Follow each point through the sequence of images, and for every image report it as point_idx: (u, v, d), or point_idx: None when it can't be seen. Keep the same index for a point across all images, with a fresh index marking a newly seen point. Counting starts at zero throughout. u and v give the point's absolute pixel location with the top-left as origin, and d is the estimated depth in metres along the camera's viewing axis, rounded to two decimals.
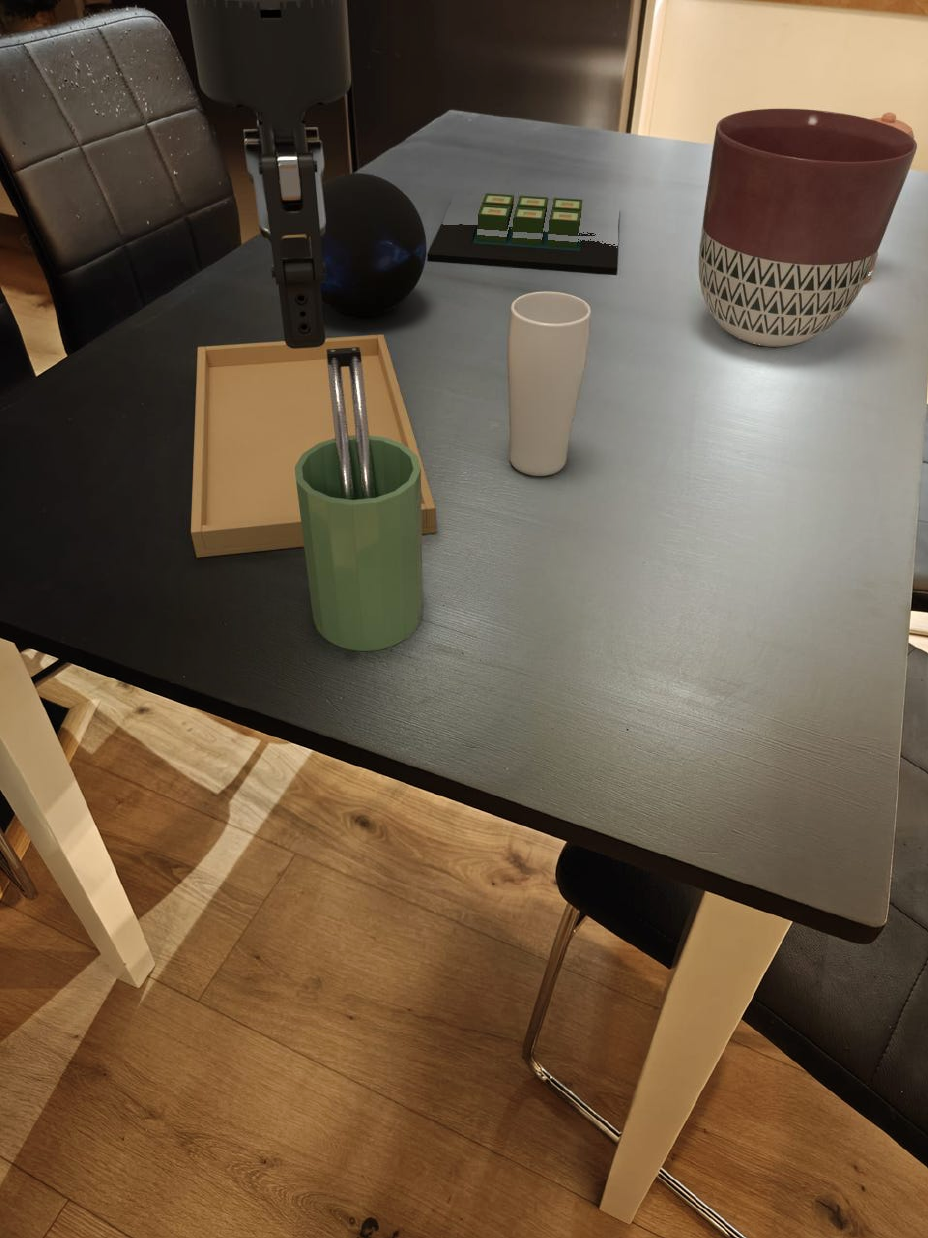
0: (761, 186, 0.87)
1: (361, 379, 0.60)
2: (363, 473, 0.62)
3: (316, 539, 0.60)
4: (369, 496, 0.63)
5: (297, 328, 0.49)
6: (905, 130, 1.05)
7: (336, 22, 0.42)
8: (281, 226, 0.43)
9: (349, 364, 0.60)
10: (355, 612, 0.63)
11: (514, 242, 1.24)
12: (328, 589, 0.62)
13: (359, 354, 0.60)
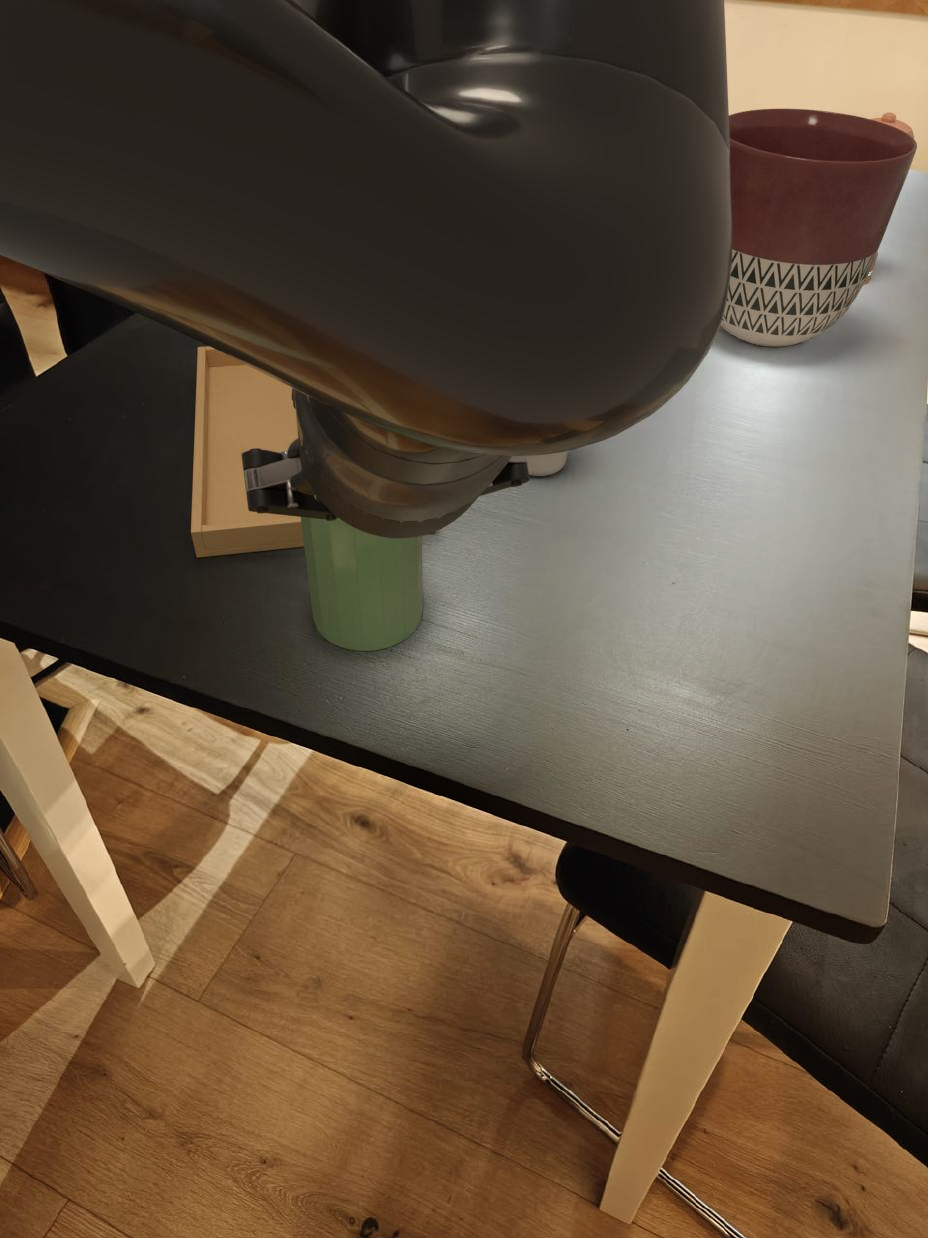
0: (761, 186, 0.87)
1: None
2: None
3: (316, 539, 0.60)
4: None
5: None
6: (905, 130, 1.05)
7: None
8: None
9: None
10: (355, 612, 0.63)
11: None
12: (328, 589, 0.62)
13: None
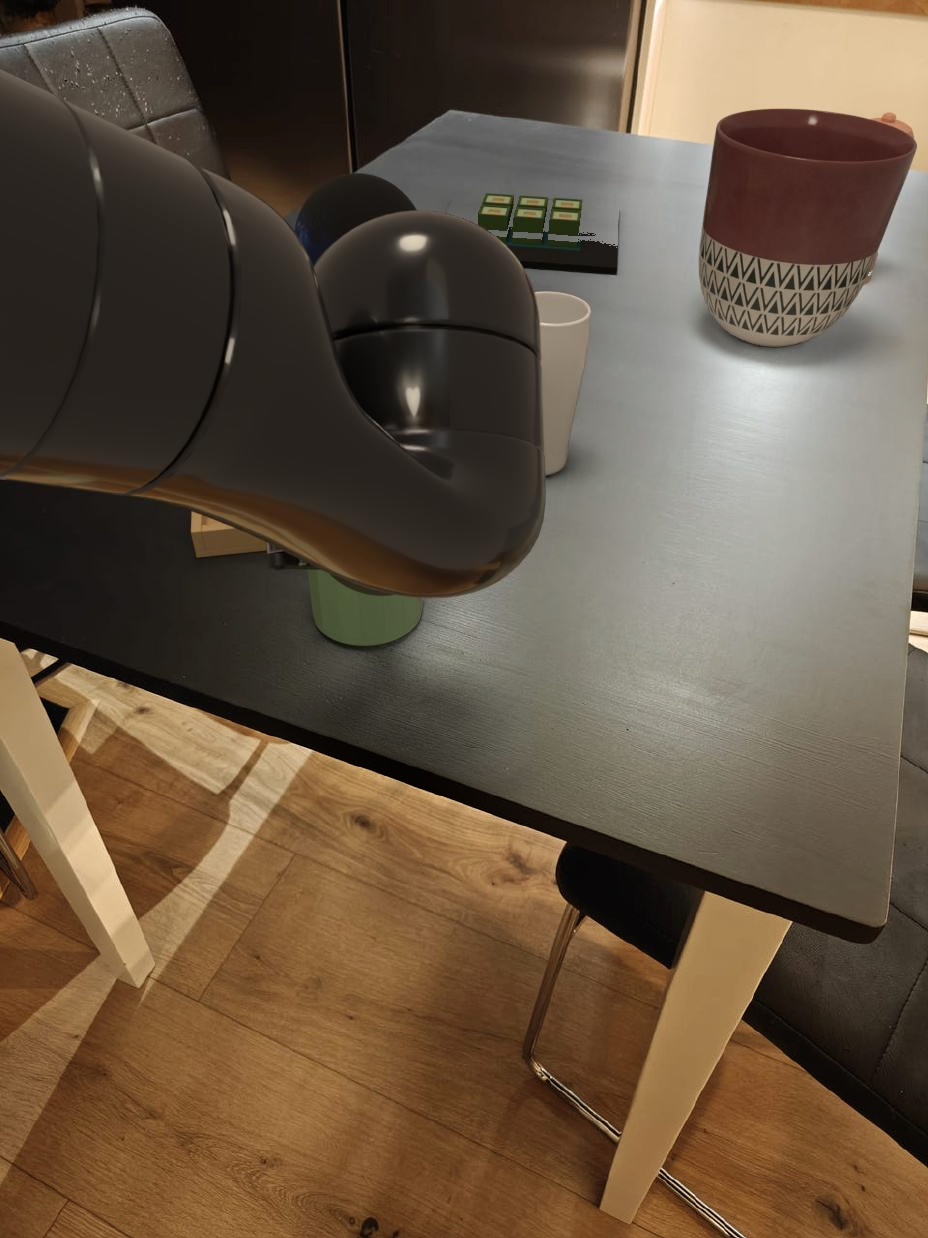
0: (761, 186, 0.87)
1: None
2: None
3: None
4: None
5: None
6: (905, 130, 1.05)
7: None
8: None
9: None
10: (354, 604, 0.63)
11: (514, 242, 1.24)
12: (327, 581, 0.62)
13: None
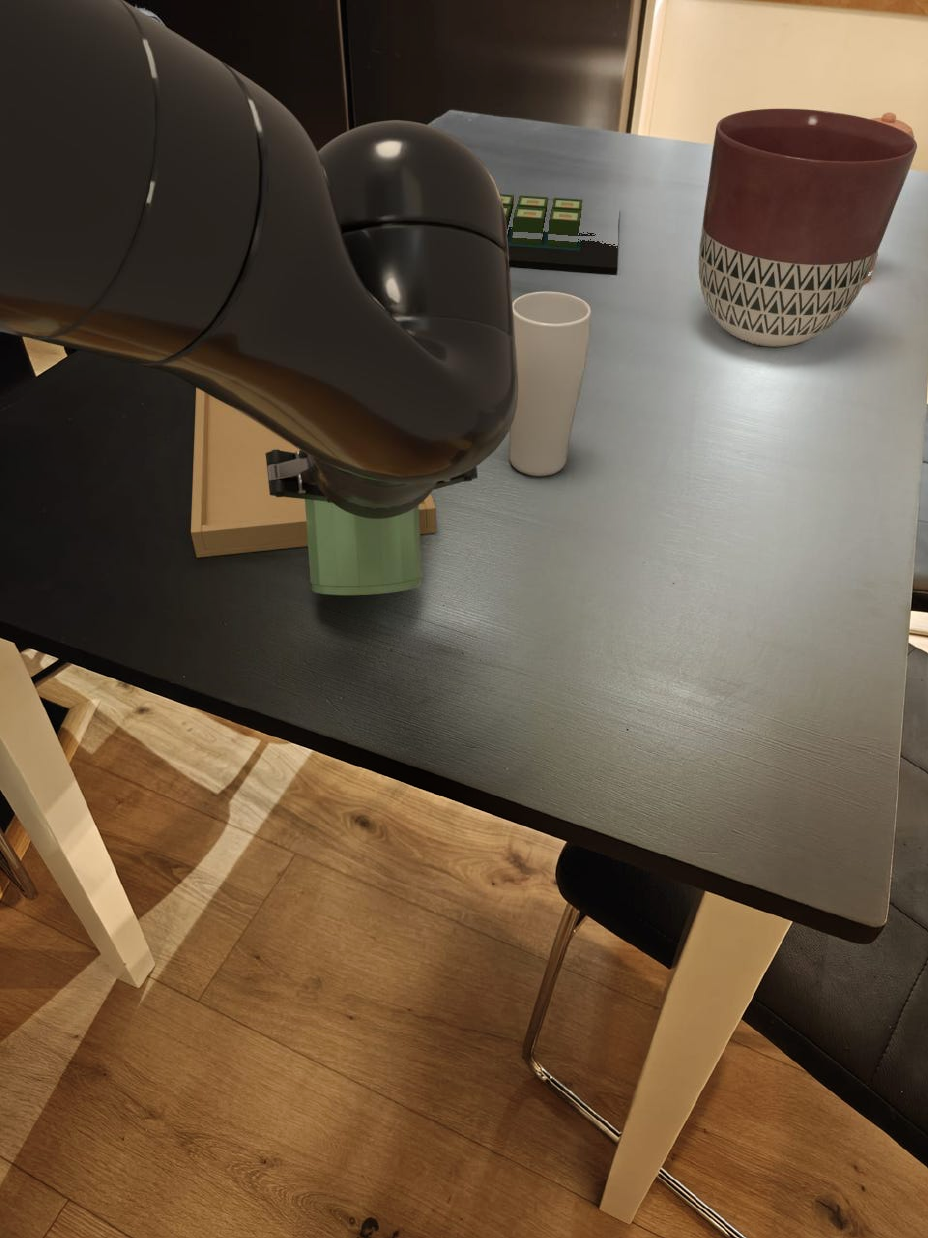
0: (761, 186, 0.87)
1: None
2: None
3: None
4: None
5: None
6: (905, 130, 1.05)
7: None
8: None
9: None
10: (351, 541, 0.63)
11: (514, 242, 1.24)
12: (325, 519, 0.63)
13: None
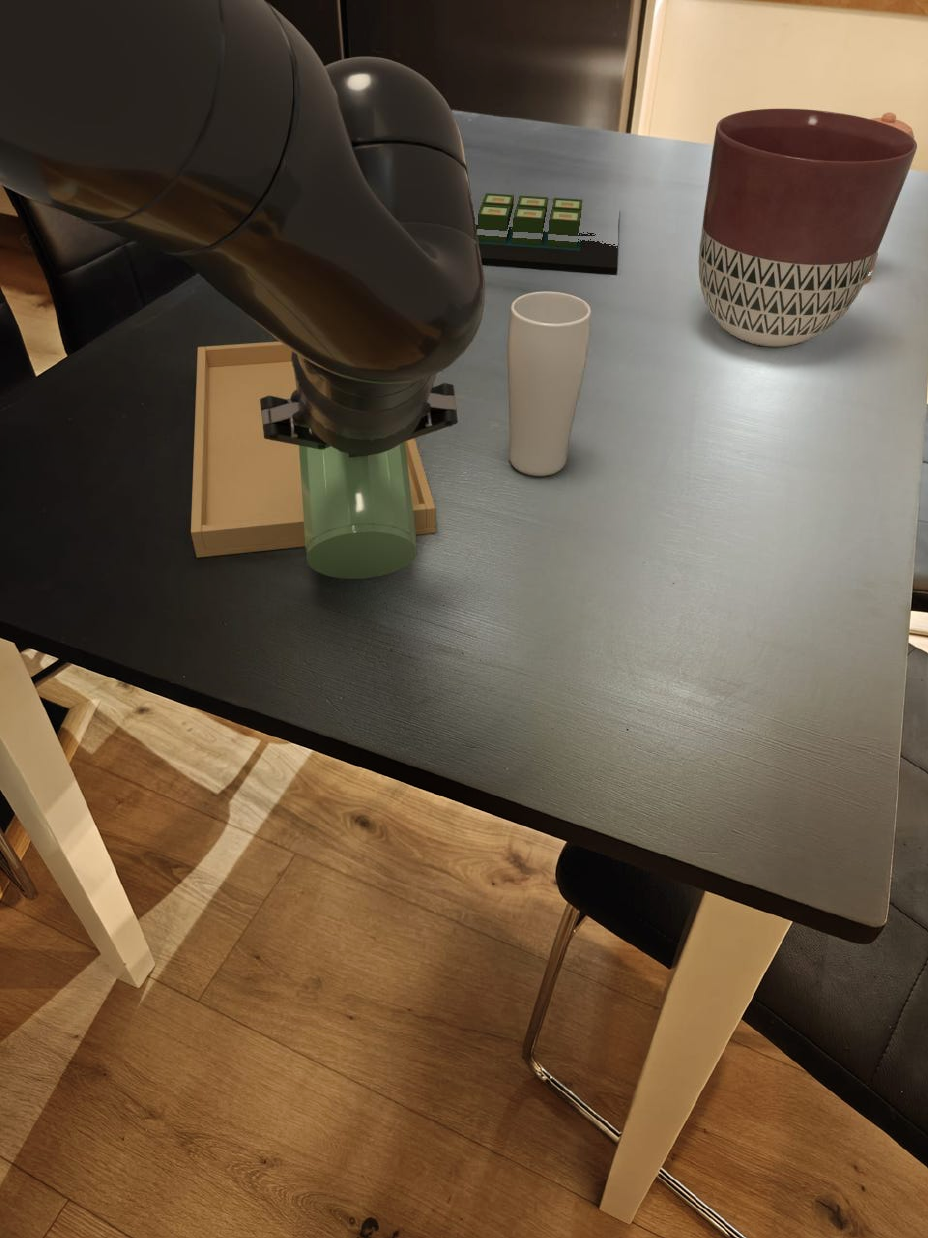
0: (761, 186, 0.87)
1: None
2: None
3: None
4: None
5: None
6: (905, 130, 1.05)
7: None
8: None
9: None
10: (342, 486, 0.65)
11: (514, 242, 1.24)
12: (318, 476, 0.66)
13: None
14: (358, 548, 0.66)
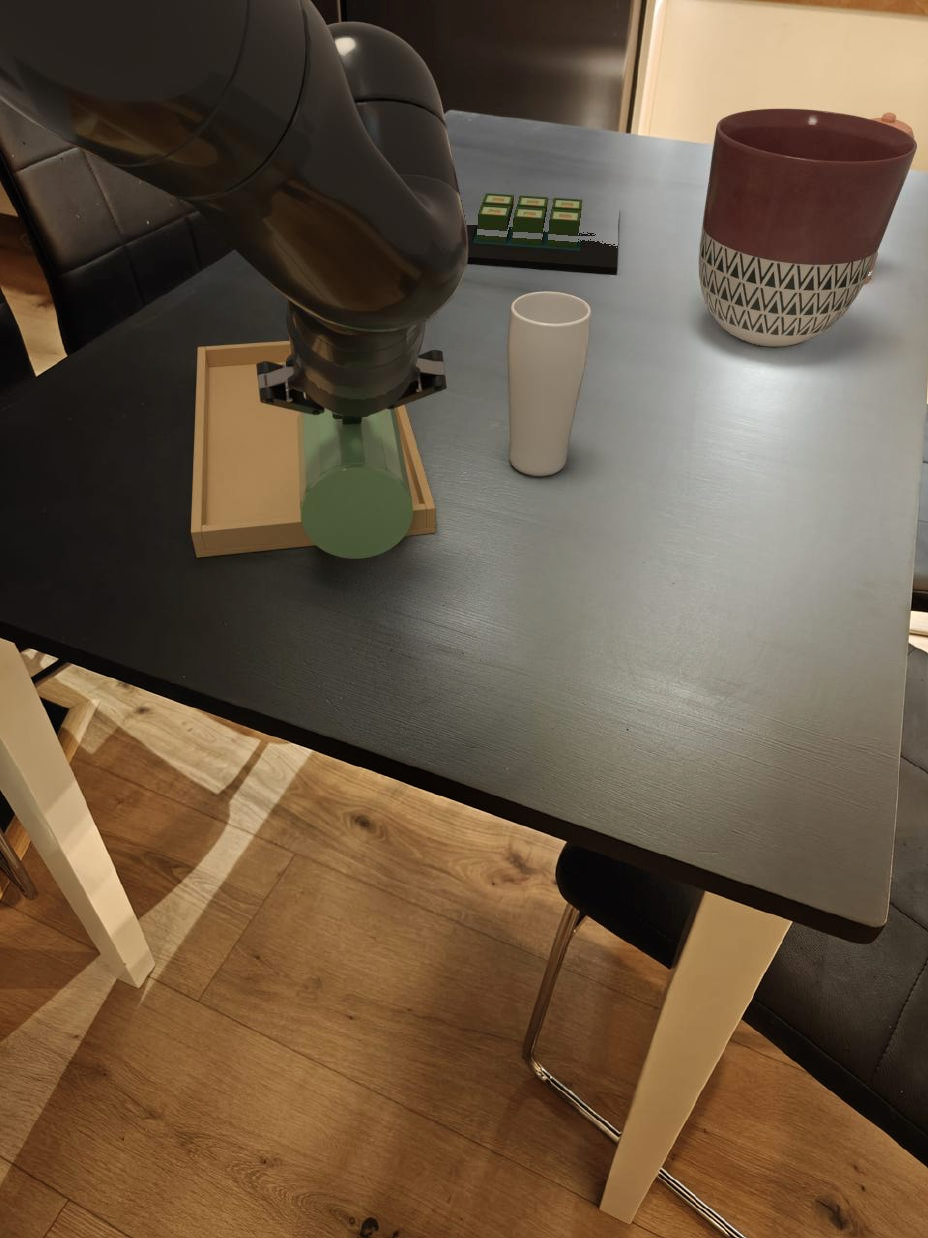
0: (761, 186, 0.87)
1: None
2: None
3: (306, 421, 0.71)
4: None
5: None
6: (905, 130, 1.05)
7: None
8: None
9: None
10: (335, 442, 0.66)
11: (514, 242, 1.24)
12: (313, 444, 0.68)
13: None
14: (352, 500, 0.65)
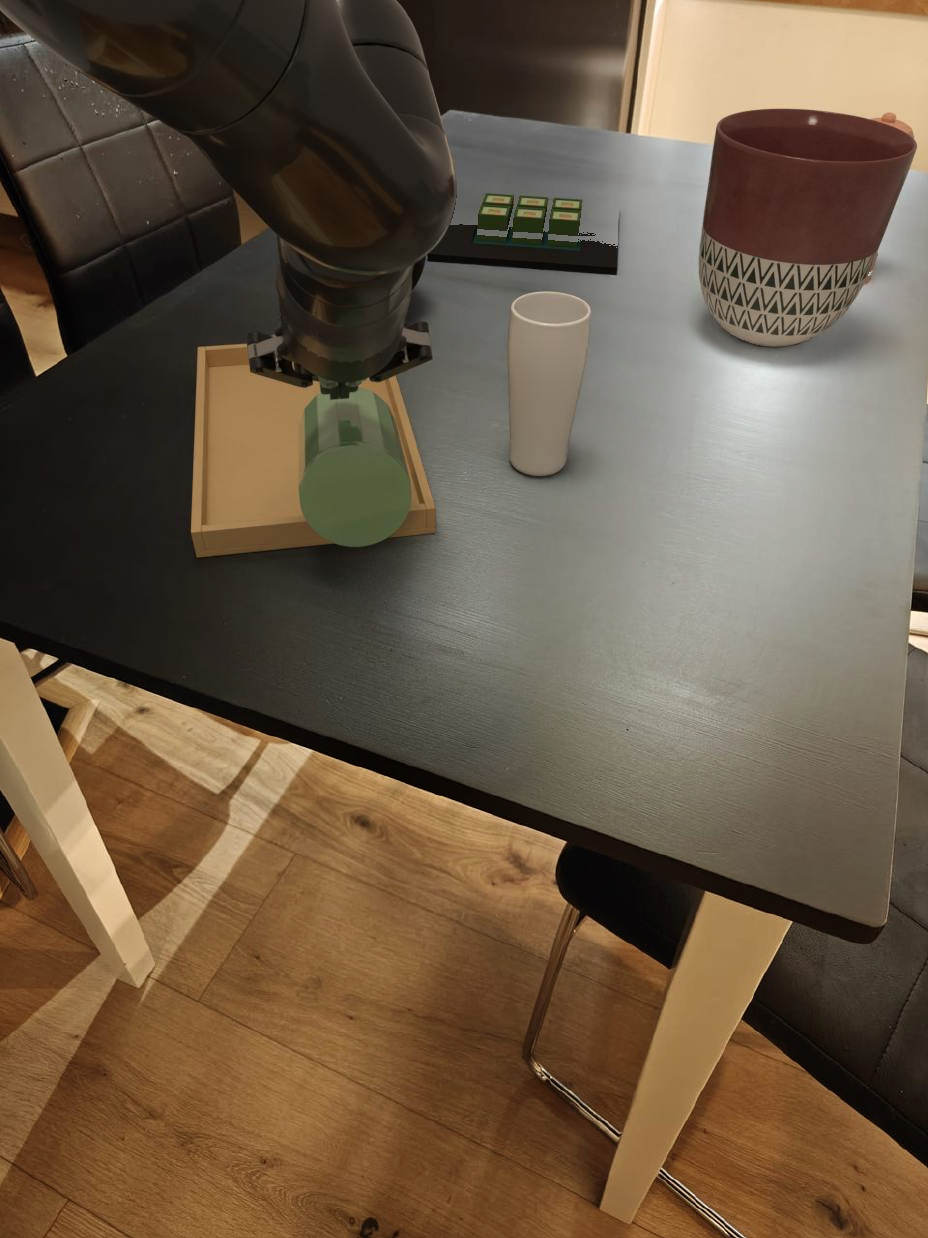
0: (761, 186, 0.87)
1: None
2: None
3: (307, 421, 0.72)
4: None
5: None
6: (905, 130, 1.05)
7: None
8: None
9: None
10: (334, 428, 0.67)
11: (514, 242, 1.24)
12: (312, 434, 0.69)
13: None
14: (350, 480, 0.65)
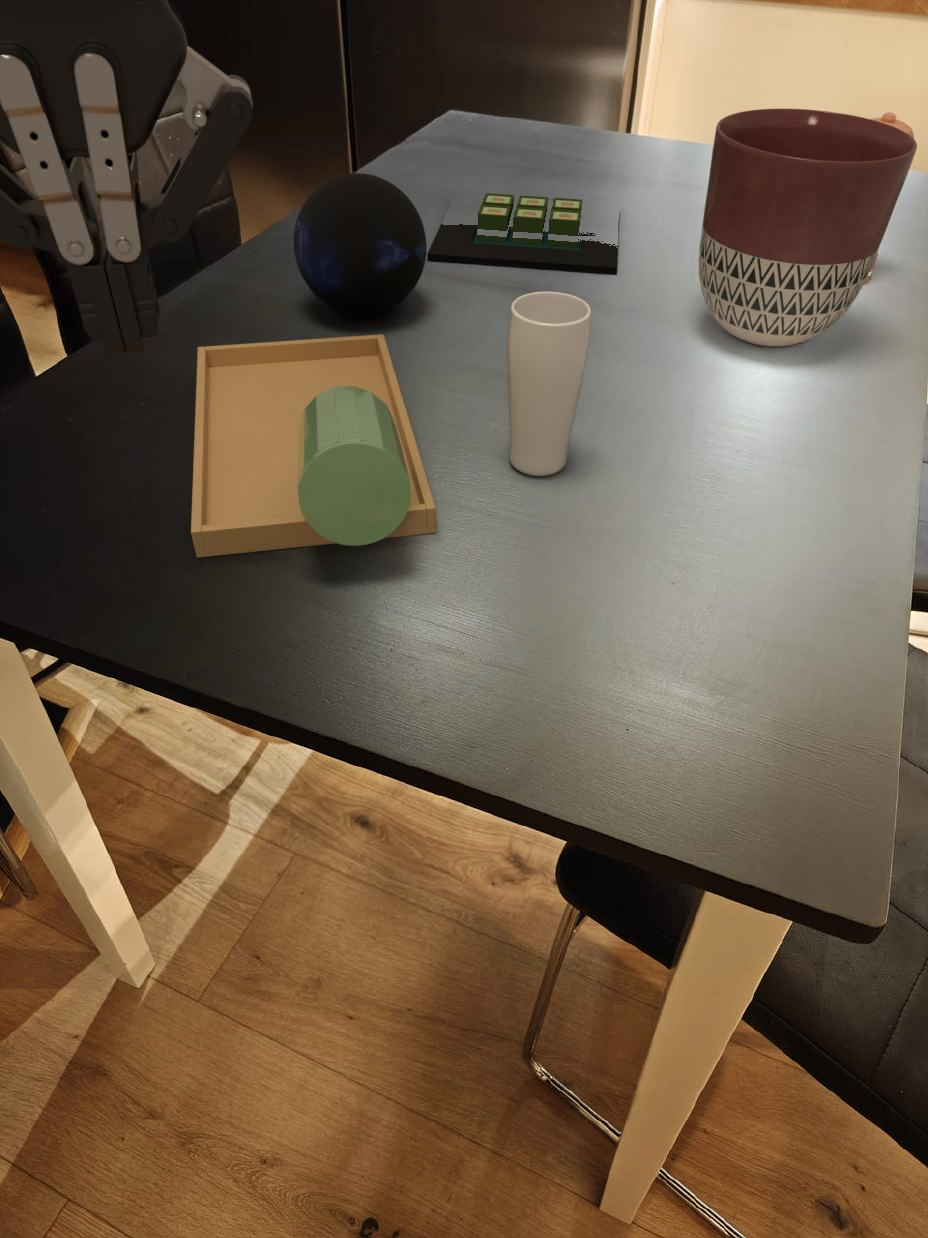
0: (761, 186, 0.87)
1: None
2: None
3: (306, 421, 0.72)
4: None
5: None
6: (905, 130, 1.05)
7: None
8: None
9: None
10: (333, 427, 0.67)
11: (514, 242, 1.24)
12: (311, 434, 0.69)
13: None
14: (349, 478, 0.65)
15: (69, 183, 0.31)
